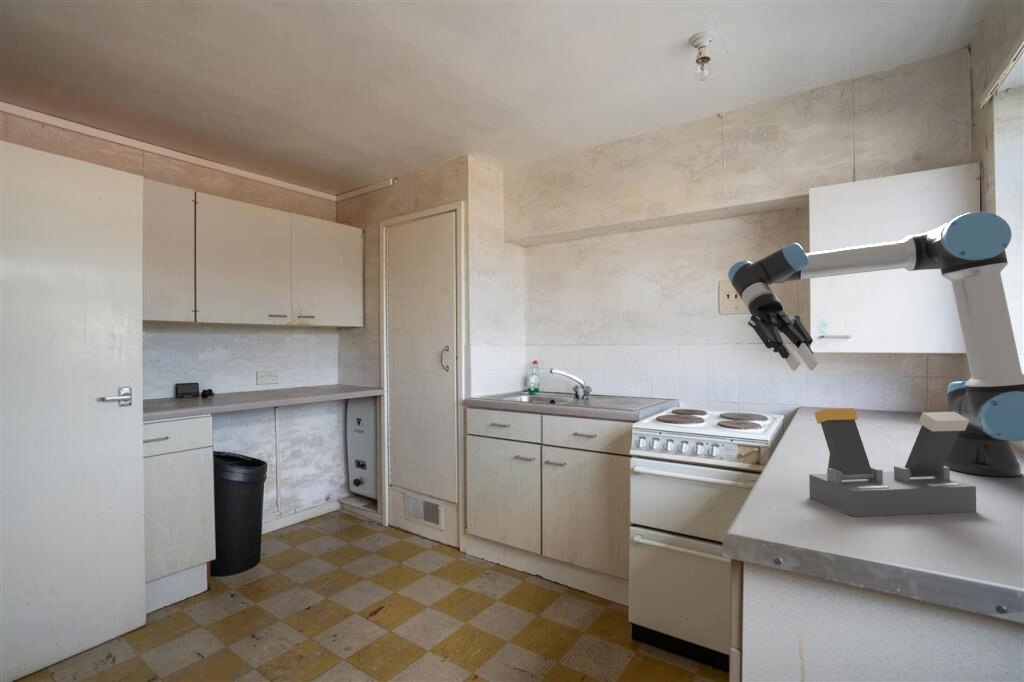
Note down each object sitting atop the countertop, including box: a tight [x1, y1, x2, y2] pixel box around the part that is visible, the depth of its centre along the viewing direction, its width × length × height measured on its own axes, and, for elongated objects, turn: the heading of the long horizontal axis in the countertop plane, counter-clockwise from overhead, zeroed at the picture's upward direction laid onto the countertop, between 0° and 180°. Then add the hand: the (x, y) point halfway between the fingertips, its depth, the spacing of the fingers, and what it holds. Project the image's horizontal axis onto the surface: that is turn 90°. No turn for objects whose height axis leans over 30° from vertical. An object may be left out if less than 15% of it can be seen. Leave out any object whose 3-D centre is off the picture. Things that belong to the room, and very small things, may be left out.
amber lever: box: [813, 407, 874, 480], centre depth 101 cm, size 3×7×15 cm, turn 95°
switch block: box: [808, 465, 977, 517], centre depth 99 cm, size 26×12×8 cm, turn 95°
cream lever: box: [904, 411, 970, 478], centre depth 97 cm, size 3×7×15 cm, turn 95°
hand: (805, 366), depth 113 cm, fingers open, 4 cm apart
